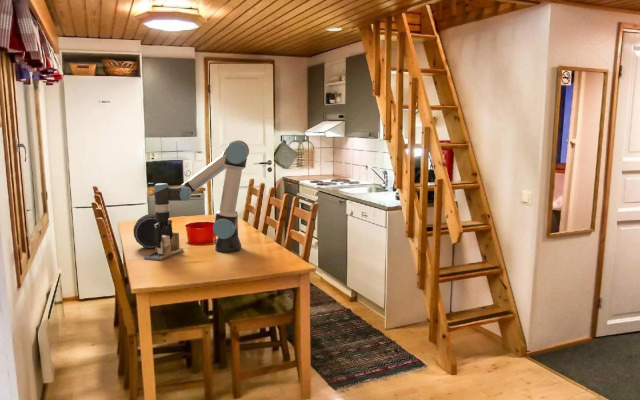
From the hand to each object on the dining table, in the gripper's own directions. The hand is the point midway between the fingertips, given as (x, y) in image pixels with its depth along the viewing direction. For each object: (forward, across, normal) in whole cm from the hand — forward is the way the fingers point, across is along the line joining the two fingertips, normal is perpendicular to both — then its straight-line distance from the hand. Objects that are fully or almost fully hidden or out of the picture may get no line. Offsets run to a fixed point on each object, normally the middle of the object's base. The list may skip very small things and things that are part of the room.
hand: (164, 251), depth 282 cm
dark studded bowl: (+3, -14, -18) cm, 23 cm away
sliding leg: (+1, 0, -2) cm, 2 cm away
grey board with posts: (+2, -2, -2) cm, 3 cm away
